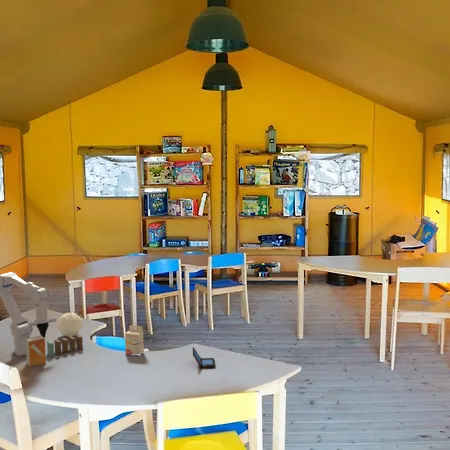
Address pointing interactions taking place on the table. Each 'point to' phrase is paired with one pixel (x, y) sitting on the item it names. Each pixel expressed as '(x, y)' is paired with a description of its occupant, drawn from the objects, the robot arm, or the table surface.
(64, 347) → the domino
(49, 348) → the domino
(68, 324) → the geodesic sphere
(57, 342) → the domino
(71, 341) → the domino
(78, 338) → the domino
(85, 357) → the table surface
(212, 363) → the handheld game console
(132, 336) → the ink cartridge box
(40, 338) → the small box
